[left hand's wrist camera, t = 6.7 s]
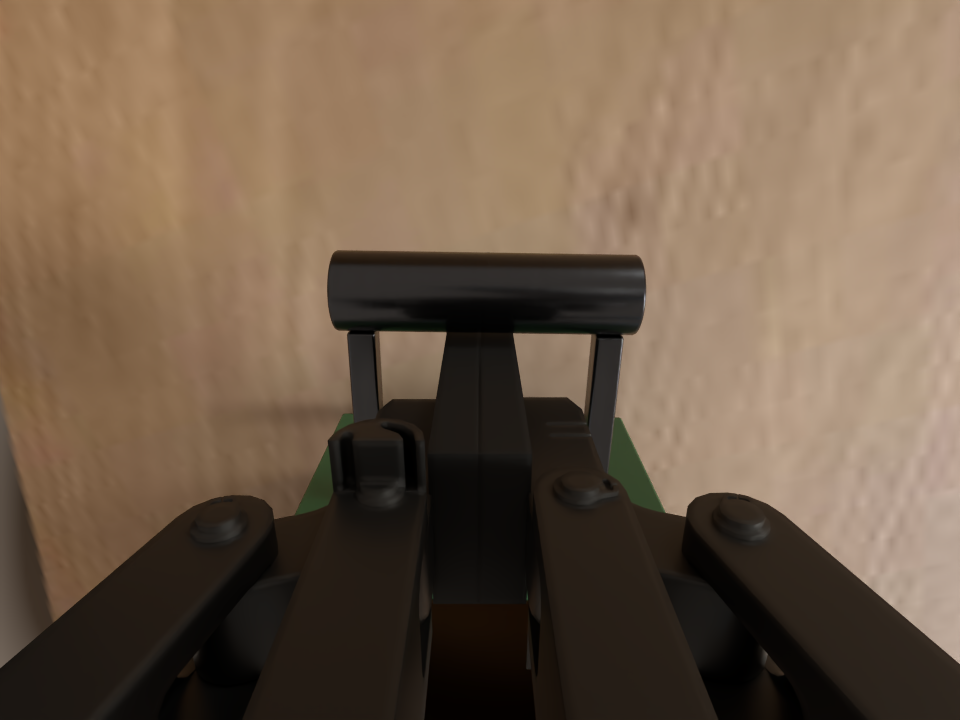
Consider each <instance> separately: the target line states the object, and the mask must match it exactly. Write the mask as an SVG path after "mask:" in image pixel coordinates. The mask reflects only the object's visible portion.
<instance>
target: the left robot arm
mask: <svg viewBox="0 0 960 720" xmlns="http://www.w3.org/2000/svg"><path fill="white" fill-rule="evenodd" d="M328 447H329V456H330V465H331V474H332V483H333V494H332V497H331V499H330V502H329V504H328V505H327V506H324V507H322V508H320V509H317V510H314V511H311V512H307V513H303V514H299V515H294V516H289V517H284V518H279V519H274V517H273V510H272V508H271V507H270V506H269V505H268V504H267V503H266V502H265V501H264V500H262V499H259V498H256V497H253V496H241V495H231V496H224V497H218V498H214V499H211V500H209V501H206V502H204V503H201V504H198V505H196V506H193V507H192V508H190V509H189V510H187V511H186V512H184V513H183V514H181V515H180V516H178V517H177V518H175V519H174V520H173V521H172V522H171V523H170V524H168V525H167V526H166V527H165V528H164V529H163V530H161V531H160V532H159V533H158V534H157V535H156V536H154V537H153V538H152V539H151V540H150V541H149V542H147V543H146V544H145V545H144V546H143V547H142V548H140V549H139V550H138V551H137V552H136V553H135V554H133V555H132V556H131V557H130V558H129V559H128V560H126V561H125V562H124V563H123V564H122V565H121V566H119V567H118V568H117V569H116V570H115V571H113V572H112V573H111V574H110V575H109V576H108V577H106V578H105V579H104V580H103V581H102V582H101V583H99V584H98V585H97V586H96V587H95V588H94V589H92V590H91V591H90V592H89V593H88V594H87V595H85V596H84V597H83V598H82V599H81V600H80V601H78V602H77V603H76V604H75V605H74V606H73V607H71V608H70V609H69V610H68V611H67V612H66V613H64V614H63V615H62V616H61V617H60V618H59V619H57V620H56V621H55V622H54V623H53V624H52V625H50V626H49V627H48V628H47V629H46V630H45V631H43V632H42V633H41V634H40V635H39V636H38V637H36V638H35V639H34V640H33V641H32V642H31V643H29V644H28V645H27V646H26V647H25V648H24V649H22V650H21V651H20V652H19V653H18V654H17V655H15V656H14V657H13V658H12V659H11V660H10V661H8V662H7V663H6V664H5V665H4V666H3V667H1V668H0V720H424V717H425V706H426V695H427V684H428V674H429V663H430V652H431V641H432V611H431V604H432V594H433V604H527V594H528V604H529V611H528V636H527V660H526V669H531V673H532V684H533V694H534V705H535V716H536V720H960V664H959V663H958V662H957V661H955V660H954V659H953V658H952V657H951V656H950V655H948V654H947V653H946V652H945V651H944V650H942V649H941V648H940V647H939V646H938V645H937V644H935V643H934V642H933V641H932V640H931V639H929V638H928V637H927V636H926V635H925V634H924V633H922V632H921V631H920V630H919V629H918V628H917V627H915V626H914V625H913V624H912V623H911V622H909V621H908V620H907V619H906V618H905V617H904V616H902V615H901V614H900V613H899V612H898V611H897V610H895V609H894V608H893V607H892V606H891V605H889V604H888V603H887V602H886V601H885V600H884V599H882V598H881V597H880V596H879V595H878V594H876V593H875V592H874V591H873V590H872V589H871V588H869V587H868V586H867V585H866V584H865V583H864V582H862V581H861V580H860V579H859V578H858V577H856V576H855V575H854V574H853V573H852V572H851V571H849V570H848V569H847V568H846V567H845V566H844V565H842V564H841V563H840V562H839V561H838V560H836V559H835V558H834V557H833V556H832V555H831V554H829V553H828V552H827V551H826V550H825V549H823V548H822V547H821V546H820V545H819V544H818V543H816V542H815V541H814V540H813V539H812V538H811V537H809V536H808V535H807V534H806V533H805V532H803V531H802V530H801V529H800V528H799V527H798V526H796V525H795V524H794V523H793V522H792V521H791V520H789V519H788V518H787V517H786V516H785V515H783V514H782V513H780V512H779V511H777V510H776V509H774V508H773V507H771V506H770V505H768V504H766V503H764V502H761V501H758V500H756V499H753V498H751V497H749V496H745V495H741V494H739V495H738V494H735V493H709V494H706V495H703V496H700V497H696V498H695V499H694V500H693V501H692V502H691V503H690V504H689V505H688V508H687V515H686V517H683V516H678V515H673V514H668V513H663V512H658V511H655V510H651V509H647V508H644V507H641V506H639V505H636V504H634V503H632V502H631V501H630V498H629V496H628V493H627V491H626V490H625V488H624V487H623V485H622V484H621V483H620V481H618V480H617V479H615V478H614V477H612V476H611V475H609V474H607V473H605V472H604V469H603V466H602V463H601V461H600V458H599V455H598V452H597V450H596V447H595V444H594V441H593V439H592V437H591V433H590V430H589V428H588V425H587V422H586V419H585V417H584V414H583V411H582V409H581V408H580V407H578V406H577V405H576V404H575V403H573V402H572V401H571V400H570V399H568V398H567V397H523V393H522V387H521V381H520V375H519V368H518V362H517V356H516V350H515V344H514V338H513V333H463V332H447V335H446V341H445V348H444V354H443V360H442V366H441V372H440V378H439V385H438V391H437V397H436V399H392V400H391V401H390V402H389V403H387V404H386V405H385V406H384V407H382V408H381V409H380V410H379V411H378V413H377V415H376V418H375V419H368V420H363V421H359V422H356V423H352V424H349V425H347V426H345V427H343V428H341V429H340V430H338V431H336V432H335V433H334V434H333V435H332V436H331V438H330V439H329V440H328Z"/></svg>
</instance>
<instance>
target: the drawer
mask: <svg viewBox="0 0 960 720" xmlns="http://www.w3.org/2000/svg"><path fill="white" fill-rule="evenodd" d="M327 297H328V307H329V313H330V318H331V321H332V324H333V326H334V328H335V329H337V330H339V331H349V332H348V334H347V340H348V353H349V367H350V380H351V393H352V406H353V414H343V415H342V417H341V419H340V422H339V424H338V426H337V428H336V430H335V432H336V431H338V430H340V429H341V428H343V427H345V426H347V425H349V424H352V423H356V422H359V421H363V420H368V419H375V418H376V415H377V413H378V411H379V410H380V409H381V408H382V407H383V395H382V376H381V357H380V339H379V331H397V332H463V333H529V334H592V336H591V346H590V357H589V368H588V379H587V389H586V400H585V411H584V417H585V419H586V422H587V425H588V428H589V430H590V433H591V437H592V439H593V441H594V444H595V447H596V450H597V452H598V455H599V458H600V461H601V463H602V466H603V469H604V472H605V473H607V474H609V475H611V476H612V477H614V478H615V479H617V480H618V481H620V483H621V484H622V485H623V487H624V488H625V490H626V491H627V493H628V496H629V498H630V501H631V502H632V503H634V504H636V505H639V506H641V507H644V508H647V509H651V510H655V511H658V512H663V513H665V511H664V508H663V506H662V504H661V502H660V500H659V498H658V496H657V494H656V492H655V489H654V487H653V485H652V483H651V481H650V479H649V477H648V475H647V473H646V470H645V468H644V466H643V464H642V462H641V460H640V458H639V456H638V454H637V451H636V449H635V447H634V445H633V443H632V441H631V439H630V437H629V435H628V432H627V430H626V428H625V426H624V424H623V422H622V420H621V418H615V410H616V401H617V392H618V384H619V375H620V366H621V358H622V349H623V340H624V339H623V337H622V335H634V334H636V333H637V331H638V330H639V328H640V325H641V323H642V319H643V315H644V310H645V302H646V277H645V270H644V266H643V262H642V260H641V258H640V257H639V256H637V255H604V254H540V253H476V252H411V251H347V250H338V251H335V252H334V253H333V255H332V257H331V261H330V264H329V270H328V280H327ZM335 432H334V433H335ZM332 494H333V483H332V474H331V465H330V456H329V447H327V449H326V451H325V453H324V455H323V457H322V459H321V461H320V463H319V465H318V467H317V470H316V472H315V474H314V476H313V478H312V480H311V482H310V484H309V486H308V488H307V490H306V492H305V495H304V497H303V499H302V501H301V503H300V505H299V507H298V509H297V511H296V513H295V515H299V514H303V513H307V512H311V511H314V510H317V509H320V508H322V507H324V506H327V505H328V504H329V502H330V499H331V497H332ZM431 611H432V641H431V652H430V663H429V674H428V684H427V695H426V706H425V717H424V720H536V716H535V705H534V694H533V684H532V673H531V669H526V660H527V636H528V611H529V604H528V594H527V604H433V594H432V604H431Z"/></svg>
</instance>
